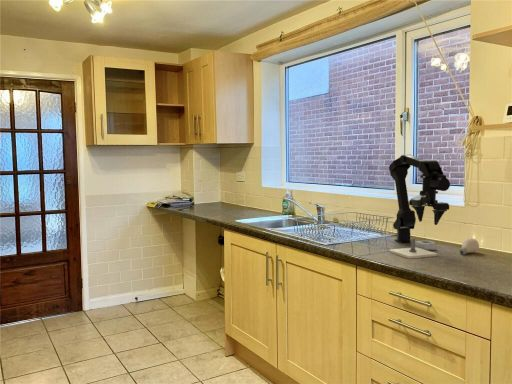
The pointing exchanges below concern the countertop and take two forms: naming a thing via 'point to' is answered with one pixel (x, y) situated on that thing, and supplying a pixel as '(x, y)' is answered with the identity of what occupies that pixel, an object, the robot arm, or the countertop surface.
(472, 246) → the light bulb
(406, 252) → the plate
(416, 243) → the link
